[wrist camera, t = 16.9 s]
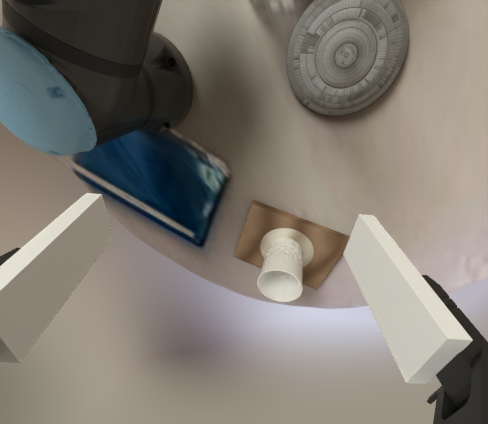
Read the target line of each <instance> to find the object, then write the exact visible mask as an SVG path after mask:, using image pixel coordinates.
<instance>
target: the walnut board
mask: <svg viewBox="0 0 488 424" xmlns="http://www.w3.org/2000/svg"><path fill="white" fill-rule="evenodd" d="M278 238H290V239H293V240H294V241H296V242H297V243H299V245H300V247H301V249H302V261H303V262H302V263H303V284H304V285H307V286H309V287H312V288H314V289H317V288H318V287H319V285H320V284H321V282H322V281H323V280H324V278H325V277H326V275H327V274H328V272H329V271H330V270H331V268H332V267H333V265H334V264H335V263H336V261H337V260H338V258H339V257H340V256H341V254H342V253H343V251H344V250H345V248H346V246H347V243H348V241H349V238H350V237H349V236H347V235H344V234H341V233H339V232H336V231H333V230H331V229H328V228H325V227H323V226H320V225H318V224H315V223H312V222H310V221H307V220H304V219H302V218H299V217H296V216H294V215H291V214H288V213H286V212H283V211H280V210H278V209H275V208H273V207H270V206H267V205H265V204H262V203H259V202H257V201H254V200H253V202H252V205H251V208H250V210H249V213H248V216H247V219H246V222H245V225H244V228H243V230H242V233H241V236H240V239H239V242H238V245H237V248H236V250H235V253H234V256H233V257H236V258H238V259H241V260H244V261H246V262H249V263H251V264H254V265H256V266H259V267H261V268H262V265H263V262H264V259H265V257H266V254H267V252H268V249H269V247H270V245H271V243H272V242H273V241H274V240H276V239H278Z"/></svg>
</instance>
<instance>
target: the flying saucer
mask: <svg viewBox="0 0 488 424" xmlns="http://www.w3.org/2000/svg"><path fill="white" fill-rule="evenodd" d="M408 43H409V24H408V19H407V15H406V12H405V10H404V7H403V5H402V3H401V2H400V0H314V1H313V2H312V3H311V4H310V5H309V6H308V7H307V8H306V10H305V11H304V12H303V14H302V15H301V17H300V18H299V20H298V21H297V23H296V25H295V27H294V29H293V32H292V35H291V37H290V41H289V45H288V50H287V59H286V65H287V74H288V79H289V82H290V85H291V87H292V89H293V91H294V93H295V95H296V96H297V98H298V99H299V100H300V101H301V102H302V103H303V104H304V105H305V106H306V107H308V108H309V109H311V110H313V111H315V112H317V113H320V114H323V115H329V116H341V115H347V114H351V113H354V112H357V111H359V110H362V109H364V108H365V107H367V106H369V105H370V104H372V103H373V102H375V101H376V100H377V99H378V98H379V97H381V96H382V95H383V94H384V93H385V92H386V91H387V89H388V88H389V87H390V86H391V84H392V83H393V82H394V80H395V79H396V77H397V75H398V74H399V72H400V70H401V68H402V65H403V63H404V60H405V57H406V54H407V49H408Z"/></svg>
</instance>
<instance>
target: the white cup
mask: <svg viewBox="0 0 488 424" xmlns="http://www.w3.org/2000/svg"><path fill="white" fill-rule="evenodd" d="M302 262H303V261H302V249H301V247H300V245H299V243H297V242H296V241H294V240H293V239H290V238H278V239H276V240H274V241H273V242H272V243H271V245H270V247H269V249H268V252H267V254H266V257H265V259H264V262H263V265H262V268H261V271H260V274H259V277H258V280H257V285H258V288H259V290H260V291H261V293H262V294H263V295H265V296H266V297H268V298H269V299H272V300H274V301H278V302H290V301H294V300H296V299H297V298H299V297H300V295H301V294H302V290H303V263H302Z"/></svg>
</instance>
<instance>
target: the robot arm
mask: <svg viewBox="0 0 488 424" xmlns="http://www.w3.org/2000/svg"><path fill="white" fill-rule="evenodd" d="M161 3H162V0H2V9H3V11H2V14H3V25H2V27H0V121H1V123H2V124H3V125H4V126H5V127H6V128H7V129H8V130H9V131H11V132H12V133H13V134H14V135H15V136H17V137H18V138H19V139H21V140H22V141H23V142H25V143H26V144H28V145H29V146H31V147H33V148H34V149H37V150H39V151H41V152H44V153H46V154H50V155H55V156H66V155H71V154H74V153H78V152H81V151H90V150H92V149H93V148H94V147H97V146H99V145H101V144H104V143H106V142H109V141H111V140H114V139H116V138H119V137H121V136H124V135H126V134H129V133H131V132H134V131H136V130H138V131H146V132H163V131H166V130H169V129H171V128H173V127H175V126H177V125H178V124H180V123H181V122H182V121H183V120H184V118H185V117H186V115H187V114H188V112H189V109H190V106H191V102H192V94H193V89H192V80H191V76H190V72H189V69H188V66H187V64H186V62H185V60H184V58H183V56H182V55H181V53H180V52H179V50H178V49H177V48H176V47H175V46H174V45H173V44H172V43H171V42H170V41H169V40H168V39H167V38H165V37H164V36H162V35H160V34H158V33H156V32H154V31H153V30H154V27H155V23H156V20H157V17H158V13H159V10H160V7H161ZM112 238H113V236H112V232H111V228H110V224H109V220H108V216H107V212H106V208H105V205H104V201H103V197H102V194H91V193H86V194H85V195H84V196H82V197H81V198H80V199H79V200H78V201H76V202H75V203H74V204H73V205H72V206H71V207H69V208H68V209H67V210H66V211H65V212H64V213H62V214H61V215H60V216H59V217H58V218H56V219H55V220H54V221H53V222H52V223H50V224H49V225H48V226H47V227H46V228H45V229H43V230H42V231H41V232H40V233H39V234H38V235H37V236H35V237H34V238H33V239H32V240H31V241H29V242H28V243H27V244H26V245H25V246H23V247H22V248H16V249H14V250H12V251H10V252H8V253H6V254H4V255H2V256H0V362H13V363H21V361H22V360H23V359H24V357H25V356H26V355H27V353H28V352H29V350H30V349H31V348H32V346H33V345H34V344H35V342H36V341H37V340H38V338H39V337H40V336H41V334H42V333H43V332H44V330H45V329H46V327H47V326H48V325H49V323H50V322H51V321H52V319H53V318H54V317H55V315H56V314H57V313H58V311H59V310H60V309H61V307H62V306H63V304H64V303H65V302H66V301H67V299H68V298H69V296H70V295H71V293H72V292H73V291H74V289H75V288H76V287H77V285H78V284H79V283H80V282H81V280H82V279H83V278H84V276H85V275H86V273H87V272H88V271H89V269H90V268H91V267H92V265H93V264H94V263H95V261H96V260H97V258H98V257H99V256H100V255H101V253H102V252H103V251H104V249H105V248H106V246H107V245H108V244H109V242H110V241H111V240H112ZM343 255H344V257H345V259H346V261H347V263H348V265H349V267H350V269H351V271H352V273H353V275H354V277H355V279H356V281H357V283H358V285H359V288H360V290H361V292H362V294H363V296H364V298H365V300H366V302H367V304H368V306H369V308H370V310H371V312H372V314H373V316H374V318H375V320H376V322H377V324H378V327H379V329H380V331H381V333H382V335H383V337H384V339H385V341H386V343H387V345H388V347H389V349H390V351H391V353H392V355H393V357H394V359H395V362H396V363H397V366H398V367H399V369H400V372H401V374H402V376H403V378H404V380H405V382H406V383H413V384H428V383H429V382H430V381H431V380H432V379H433V378H434V377H435V376H437V378H438V379H439V381H440V383H441V384H442V386H441V387H440V388H439V389H438V390H437V391H436V392H434V393H433V394H432V395H431V396H430V397H429V399H428V401H427V402H428V403H429V404H431V403H432V402H434V401H435V400H436V399H437V401H436V408H435V415H434V422H433V424H488V342H487V341H486V340H485V338H484V337H483V336H482V335H481V334H480V332H479V331H478V330H477V329H476V328H475V327H474V325H473V324H472V323H471V322H470V321H469V319H468V318H467V317H466V316H465V315H464V313H463V312H462V311H461V310H460V309H459V308H457V305H456V304H455V303H454V302H453V301H452V299H449V296H448V294H447V293H446V292H445V291H444V290H443V289H442V287H441V286H440V285H439V284H437V283H436V282H435V281H434V280H432V279H431V278H430V277H428V276H427V275H421V274H420V273H419V272H418V271H417V269H416V268H415V267H414V266H413V264H412V263H411V262H410V260H409V259H408V258H407V257H406V255H405V254H404V253H403V252H402V250H401V249H400V248H399V247H398V245H397V244H396V243H395V242H394V240H393V239H392V238H391V237H390V235H389V234H388V233H387V232H386V230H385V229H384V228H383V227H382V225H381V224H380V223H379V222H378V220H377V219H376V218H375V217H374V215H362V214H359V216H358V218H357V221H356V223H355V226H354V228H353V231H352V233H351V236H350V238H349V241H348V243H347V246H346V248H345V251H344V253H343Z"/></svg>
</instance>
